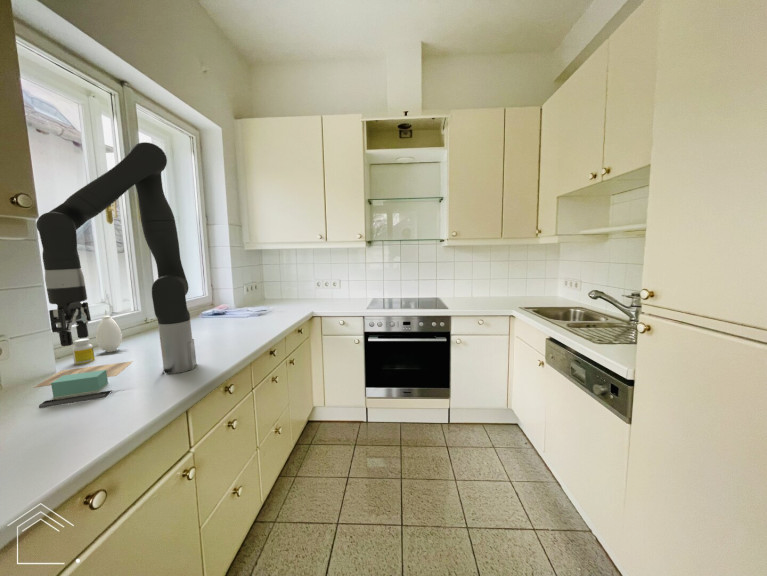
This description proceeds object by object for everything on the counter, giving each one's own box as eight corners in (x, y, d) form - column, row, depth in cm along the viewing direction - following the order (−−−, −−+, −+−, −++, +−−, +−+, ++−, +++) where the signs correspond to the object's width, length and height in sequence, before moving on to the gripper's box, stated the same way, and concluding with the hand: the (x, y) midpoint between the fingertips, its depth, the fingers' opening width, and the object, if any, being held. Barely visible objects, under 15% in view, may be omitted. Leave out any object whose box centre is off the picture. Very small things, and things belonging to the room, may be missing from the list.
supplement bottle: (98, 363, 114) (94, 338, 112) (79, 369, 109) (75, 342, 107) (91, 361, 116) (87, 337, 115) (72, 367, 111) (68, 341, 110)
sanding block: (108, 385, 93) (106, 369, 92) (99, 392, 88) (97, 376, 87) (65, 391, 89) (62, 375, 88) (53, 400, 84) (51, 383, 83)
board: (133, 365, 111) (133, 361, 111) (117, 379, 98) (116, 375, 98) (61, 374, 104) (61, 370, 104) (34, 392, 91) (33, 387, 91)
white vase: (108, 349, 131) (102, 308, 129) (128, 348, 132) (122, 307, 130) (93, 355, 123) (87, 312, 121) (114, 354, 124) (108, 311, 122)
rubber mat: (119, 383, 96) (119, 381, 95) (105, 397, 86) (104, 394, 86) (61, 392, 90) (60, 389, 90) (39, 408, 81) (38, 405, 81)
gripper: (69, 287, 80) (79, 346, 82) (95, 282, 93) (103, 333, 95) (30, 289, 77) (42, 350, 79) (63, 284, 90) (72, 336, 92)
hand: (75, 341), depth 87 cm, fingers open, 8 cm apart
